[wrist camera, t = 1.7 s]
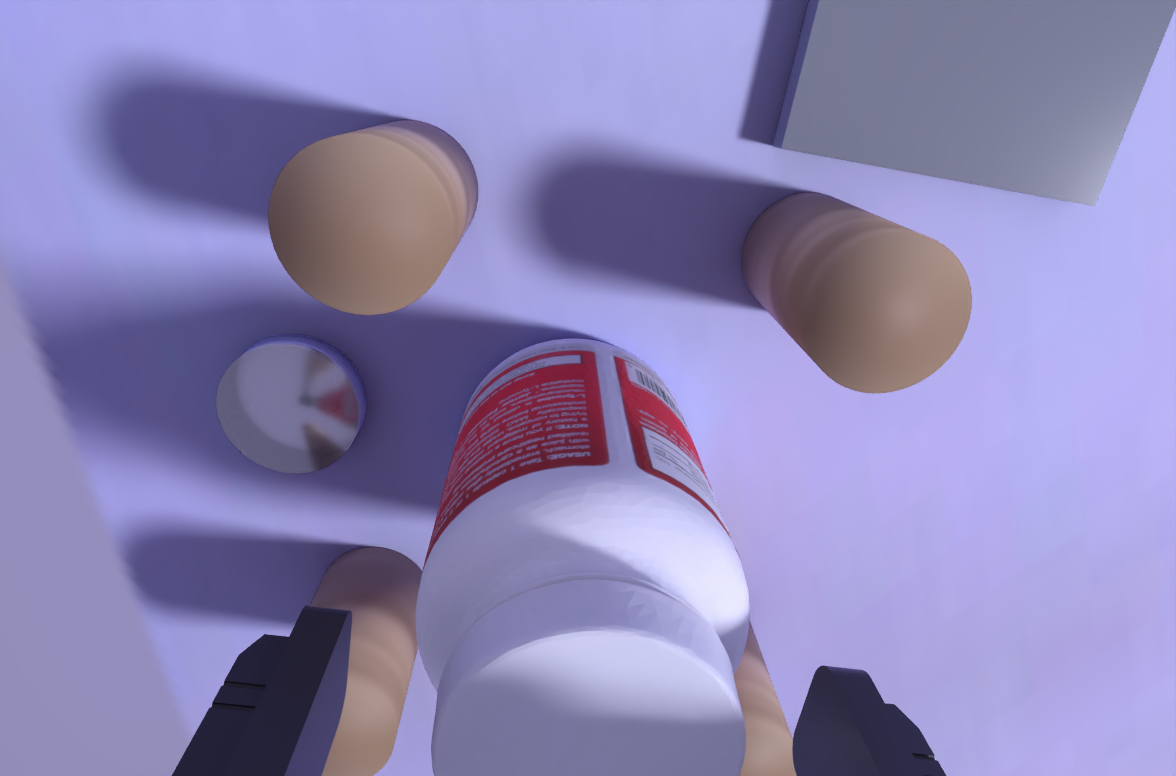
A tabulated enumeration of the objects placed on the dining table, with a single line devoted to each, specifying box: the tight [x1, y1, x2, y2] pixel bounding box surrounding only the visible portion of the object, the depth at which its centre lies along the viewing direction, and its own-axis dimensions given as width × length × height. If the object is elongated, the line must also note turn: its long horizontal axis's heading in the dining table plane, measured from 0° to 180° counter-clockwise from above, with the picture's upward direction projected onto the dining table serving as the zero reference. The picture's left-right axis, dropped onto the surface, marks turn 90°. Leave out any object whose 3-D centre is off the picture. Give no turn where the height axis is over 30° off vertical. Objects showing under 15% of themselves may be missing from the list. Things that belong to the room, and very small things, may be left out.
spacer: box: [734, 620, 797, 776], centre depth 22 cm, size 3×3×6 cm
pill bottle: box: [415, 338, 750, 776], centre depth 16 cm, size 6×6×11 cm
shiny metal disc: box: [216, 334, 367, 474], centre depth 20 cm, size 4×4×1 cm
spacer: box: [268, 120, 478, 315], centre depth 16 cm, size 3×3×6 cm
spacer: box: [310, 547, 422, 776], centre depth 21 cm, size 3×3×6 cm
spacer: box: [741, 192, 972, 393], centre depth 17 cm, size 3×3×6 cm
